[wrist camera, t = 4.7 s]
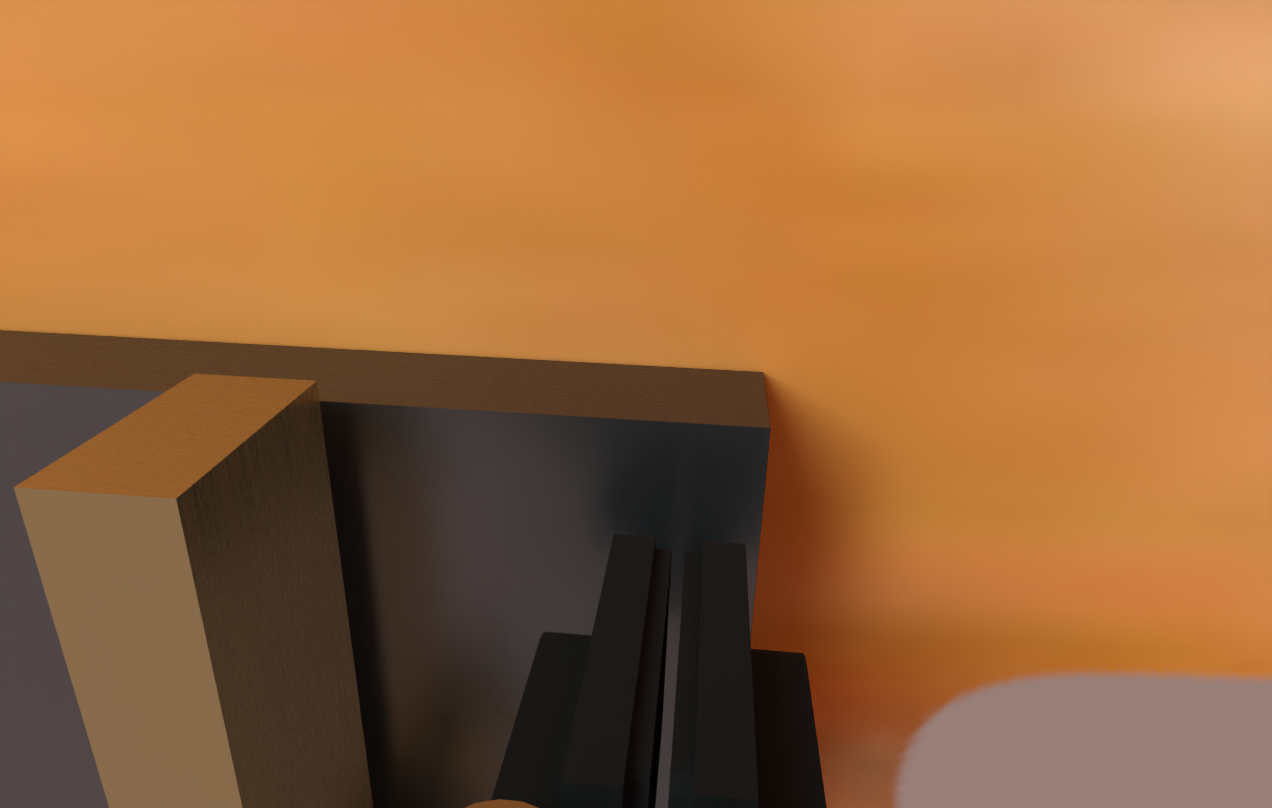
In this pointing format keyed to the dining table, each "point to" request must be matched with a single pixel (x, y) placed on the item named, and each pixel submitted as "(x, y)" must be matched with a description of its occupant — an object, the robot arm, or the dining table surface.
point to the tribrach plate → (406, 530)
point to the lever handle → (205, 600)
